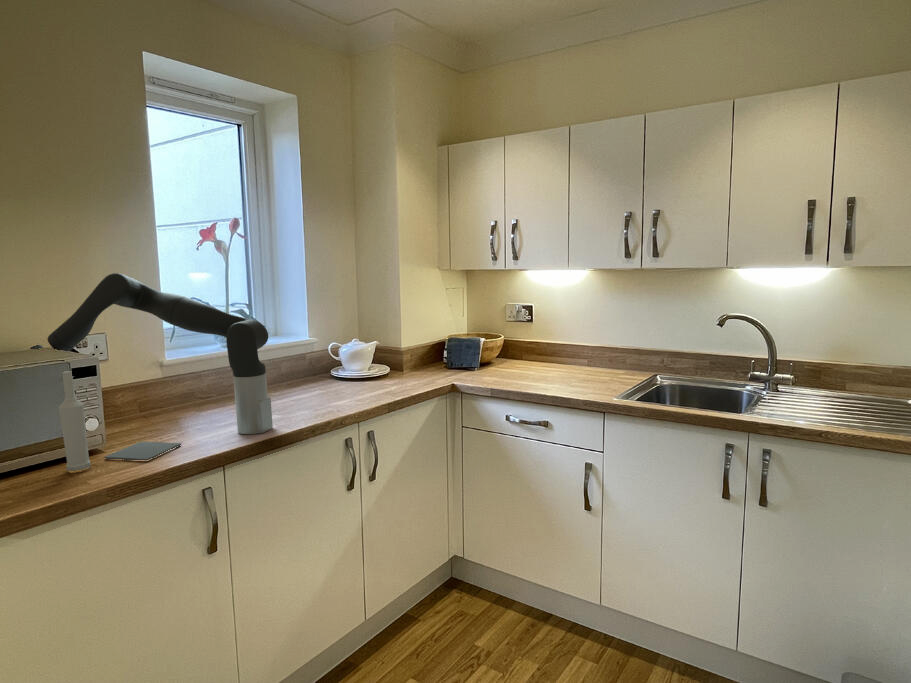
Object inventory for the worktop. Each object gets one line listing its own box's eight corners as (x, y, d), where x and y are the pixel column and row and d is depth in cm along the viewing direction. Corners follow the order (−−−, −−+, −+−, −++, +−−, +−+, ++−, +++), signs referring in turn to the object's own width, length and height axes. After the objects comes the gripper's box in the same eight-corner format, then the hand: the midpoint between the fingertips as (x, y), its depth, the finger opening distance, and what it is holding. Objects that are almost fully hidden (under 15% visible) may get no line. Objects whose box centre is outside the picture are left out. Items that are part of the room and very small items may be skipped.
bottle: (95, 465, 147) (84, 369, 143) (83, 473, 142) (71, 373, 138) (75, 466, 147) (62, 370, 143) (61, 474, 141) (49, 374, 138)
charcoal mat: (181, 446, 161) (181, 443, 161) (147, 462, 148) (147, 459, 148) (141, 444, 164) (140, 441, 164) (104, 459, 151) (104, 456, 151)
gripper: (16, 357, 156) (24, 365, 144) (78, 351, 165) (90, 358, 153) (19, 384, 157) (27, 394, 145) (80, 376, 166) (93, 385, 154)
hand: (60, 375), depth 149 cm, fingers open, 8 cm apart
